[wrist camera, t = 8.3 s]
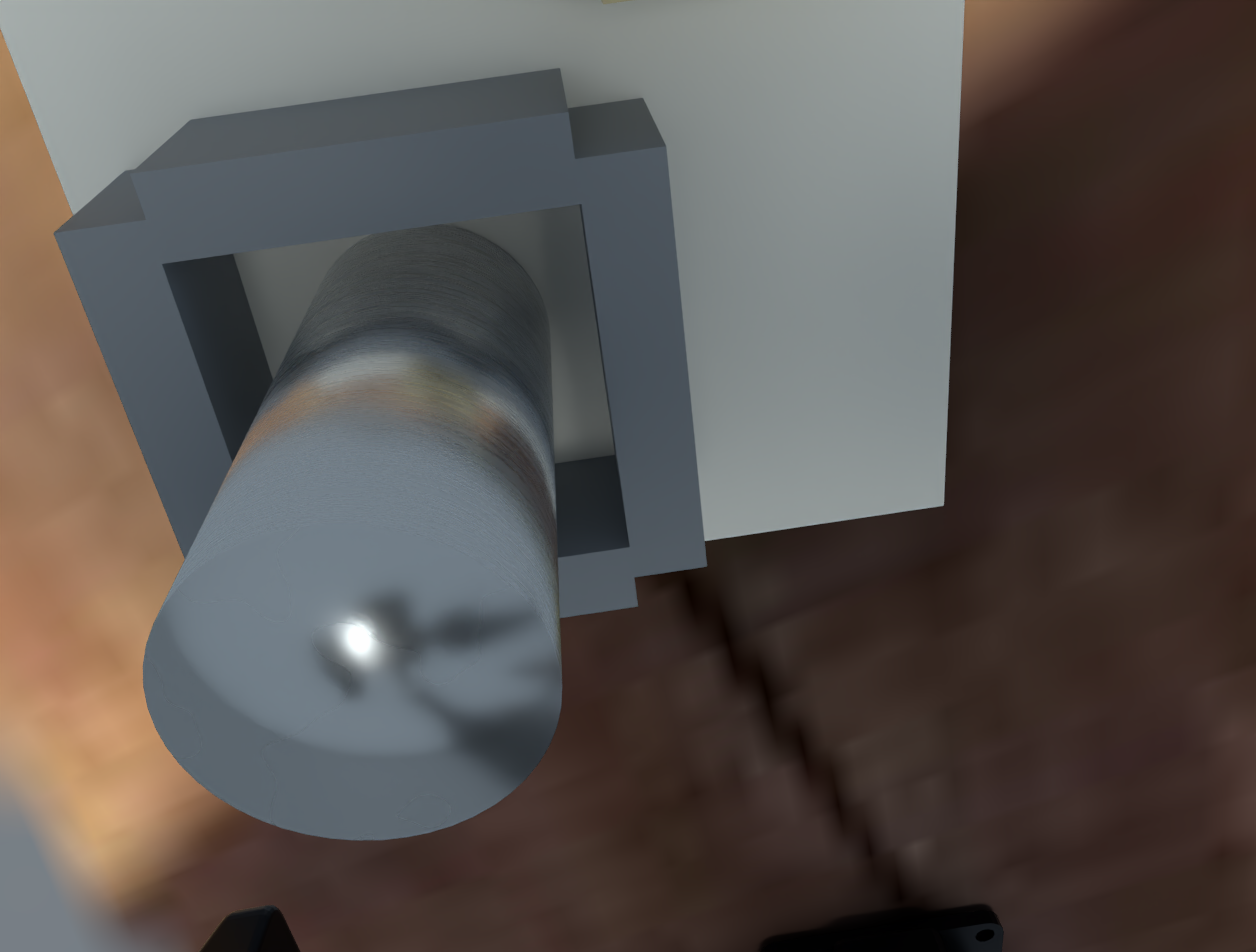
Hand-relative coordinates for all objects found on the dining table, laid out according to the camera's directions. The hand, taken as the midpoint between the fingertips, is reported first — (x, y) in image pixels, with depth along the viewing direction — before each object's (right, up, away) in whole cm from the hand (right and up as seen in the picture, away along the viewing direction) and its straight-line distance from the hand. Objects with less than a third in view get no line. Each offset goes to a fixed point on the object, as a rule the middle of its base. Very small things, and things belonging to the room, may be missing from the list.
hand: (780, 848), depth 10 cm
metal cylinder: (-5, +6, +9) cm, 11 cm away
